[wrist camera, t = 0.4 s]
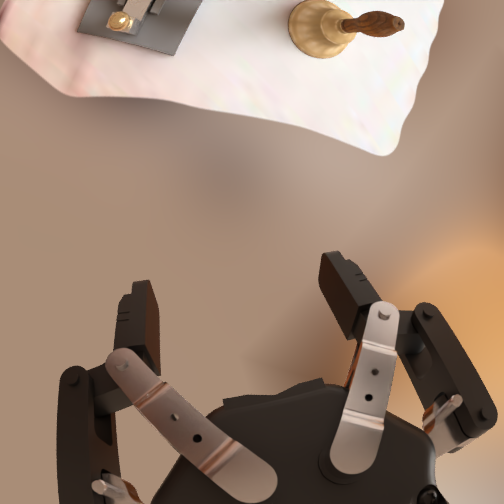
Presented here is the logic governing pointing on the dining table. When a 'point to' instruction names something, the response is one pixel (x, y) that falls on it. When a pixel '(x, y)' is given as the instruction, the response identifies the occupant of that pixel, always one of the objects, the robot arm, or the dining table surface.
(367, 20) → the hand bell
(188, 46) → the dining table surface
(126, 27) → the bolt
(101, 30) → the lock plate
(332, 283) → the robot arm
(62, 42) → the dining table surface
